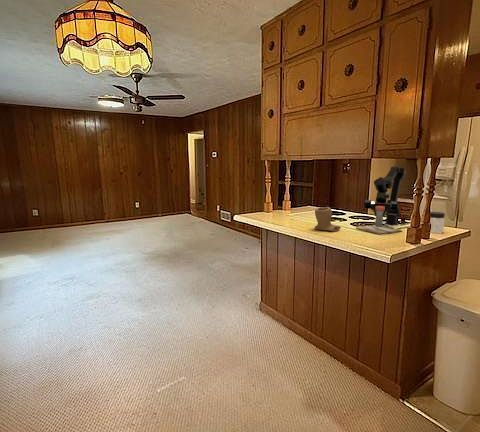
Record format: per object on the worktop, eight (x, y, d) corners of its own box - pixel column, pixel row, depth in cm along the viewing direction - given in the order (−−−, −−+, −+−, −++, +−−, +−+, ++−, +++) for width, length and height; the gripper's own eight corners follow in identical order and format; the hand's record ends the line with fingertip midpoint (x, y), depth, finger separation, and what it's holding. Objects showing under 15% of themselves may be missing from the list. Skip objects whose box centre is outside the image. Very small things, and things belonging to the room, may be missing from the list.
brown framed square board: (377, 226, 201) (377, 223, 201) (402, 231, 184) (402, 229, 184) (355, 228, 194) (355, 226, 194) (379, 235, 177) (379, 232, 177)
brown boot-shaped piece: (310, 230, 192) (311, 207, 189) (319, 227, 200) (320, 205, 197) (332, 233, 181) (333, 209, 179) (341, 230, 190) (342, 207, 187)
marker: (378, 225, 183) (380, 205, 181) (384, 226, 179) (385, 206, 177) (373, 226, 182) (374, 205, 179) (378, 227, 178) (380, 206, 176)
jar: (428, 233, 180) (430, 213, 178) (424, 230, 188) (426, 211, 186) (445, 234, 178) (447, 214, 175) (440, 231, 185) (443, 212, 183)
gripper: (365, 187, 184) (362, 207, 177) (399, 187, 175) (397, 209, 168) (366, 198, 192) (362, 217, 185) (398, 199, 184) (396, 220, 176)
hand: (379, 216), depth 178 cm, fingers closed on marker, 4 cm apart
